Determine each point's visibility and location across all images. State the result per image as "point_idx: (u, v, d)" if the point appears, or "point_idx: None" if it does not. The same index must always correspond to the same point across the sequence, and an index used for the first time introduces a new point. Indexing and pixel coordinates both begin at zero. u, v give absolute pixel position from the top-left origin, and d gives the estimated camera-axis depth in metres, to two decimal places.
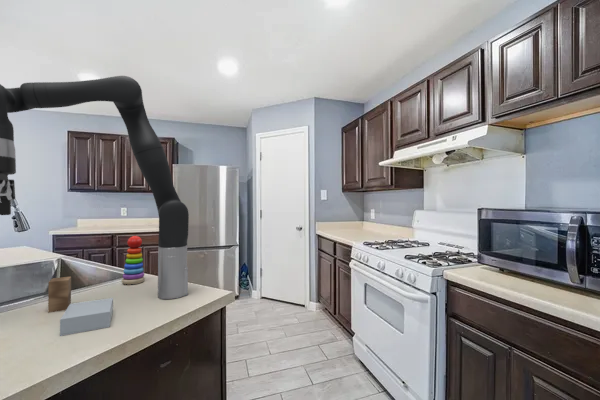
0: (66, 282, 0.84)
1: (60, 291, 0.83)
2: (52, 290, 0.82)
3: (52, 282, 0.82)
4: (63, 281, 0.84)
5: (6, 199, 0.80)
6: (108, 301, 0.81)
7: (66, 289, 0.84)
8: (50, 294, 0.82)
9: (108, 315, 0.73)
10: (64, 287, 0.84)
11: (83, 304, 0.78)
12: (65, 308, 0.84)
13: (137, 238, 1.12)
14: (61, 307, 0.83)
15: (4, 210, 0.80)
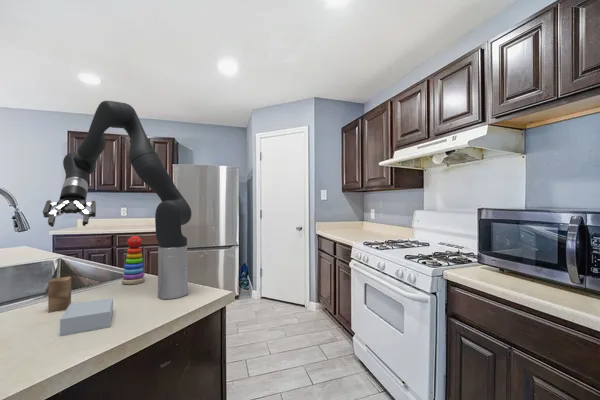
0: (66, 282, 0.84)
1: (60, 291, 0.83)
2: (52, 290, 0.82)
3: (52, 282, 0.82)
4: (63, 281, 0.84)
5: None
6: (108, 301, 0.81)
7: (66, 289, 0.84)
8: (50, 294, 0.82)
9: (108, 315, 0.73)
10: (64, 287, 0.84)
11: (83, 304, 0.78)
12: (65, 308, 0.84)
13: (137, 238, 1.12)
14: (61, 307, 0.83)
15: (83, 221, 0.98)
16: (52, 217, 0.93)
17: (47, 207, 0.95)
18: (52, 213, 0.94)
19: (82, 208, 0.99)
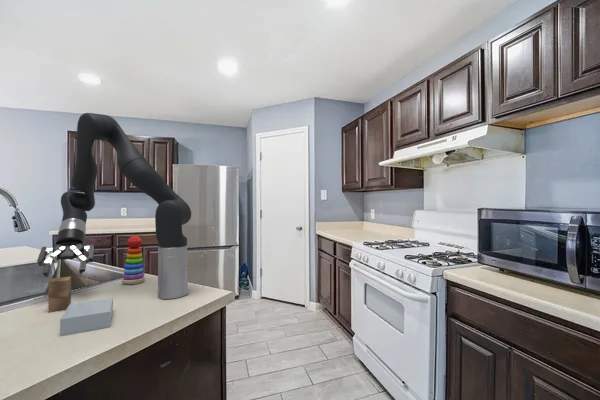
0: (66, 282, 0.84)
1: (60, 291, 0.83)
2: (52, 290, 0.82)
3: (52, 282, 0.82)
4: (63, 281, 0.84)
5: None
6: (108, 301, 0.81)
7: (66, 289, 0.84)
8: (50, 294, 0.82)
9: (108, 315, 0.73)
10: (64, 287, 0.84)
11: (83, 304, 0.78)
12: (65, 308, 0.84)
13: (137, 238, 1.12)
14: (61, 307, 0.83)
15: None
16: (47, 266, 0.88)
17: (42, 255, 0.90)
18: (47, 262, 0.89)
19: (79, 254, 0.94)
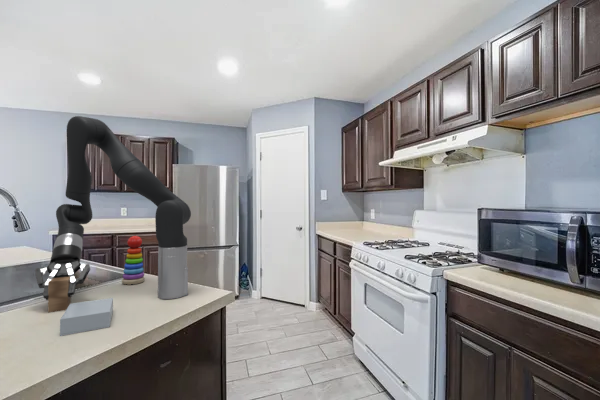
0: (66, 282, 0.84)
1: (60, 291, 0.83)
2: (51, 290, 0.82)
3: (52, 282, 0.82)
4: (63, 281, 0.84)
5: None
6: (108, 301, 0.81)
7: (66, 289, 0.84)
8: (50, 294, 0.82)
9: (108, 315, 0.73)
10: (64, 287, 0.84)
11: (83, 304, 0.78)
12: (65, 308, 0.84)
13: (137, 238, 1.12)
14: (61, 307, 0.83)
15: None
16: None
17: (40, 276, 0.84)
18: None
19: (71, 274, 0.87)
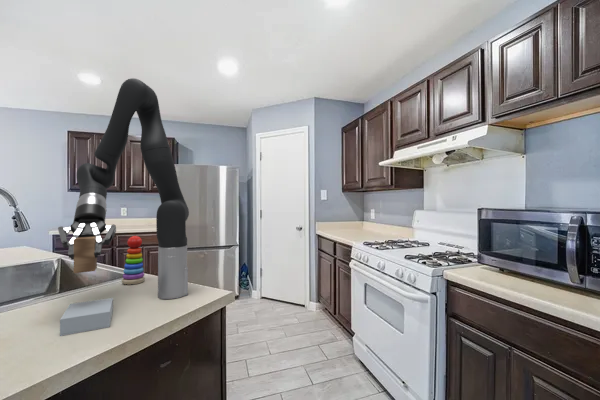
0: (92, 240, 0.76)
1: (86, 250, 0.76)
2: (77, 248, 0.75)
3: (77, 240, 0.75)
4: (89, 239, 0.76)
5: None
6: (108, 301, 0.81)
7: (92, 248, 0.76)
8: (75, 253, 0.74)
9: (108, 315, 0.73)
10: (90, 246, 0.76)
11: (83, 304, 0.78)
12: (92, 269, 0.76)
13: (137, 238, 1.12)
14: (87, 268, 0.76)
15: None
16: (73, 248, 0.75)
17: (63, 235, 0.77)
18: (73, 242, 0.76)
19: (96, 234, 0.80)
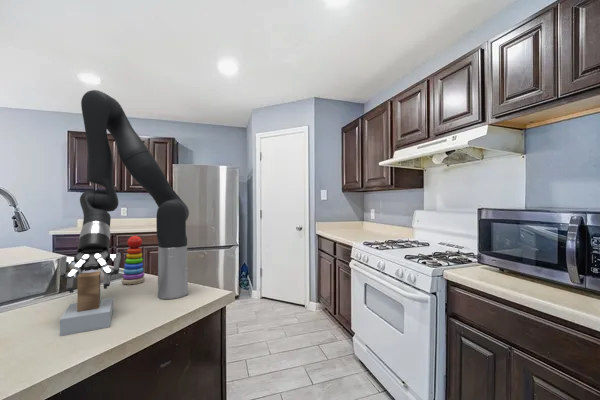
0: (96, 277, 0.75)
1: (91, 288, 0.74)
2: (81, 286, 0.73)
3: (81, 277, 0.73)
4: (93, 276, 0.74)
5: None
6: (108, 301, 0.81)
7: (96, 285, 0.75)
8: (79, 291, 0.73)
9: (108, 315, 0.73)
10: (94, 283, 0.74)
11: None
12: (95, 307, 0.75)
13: (137, 238, 1.12)
14: (91, 306, 0.74)
15: (104, 283, 0.77)
16: (72, 280, 0.73)
17: (64, 266, 0.75)
18: (71, 275, 0.74)
19: (103, 264, 0.79)
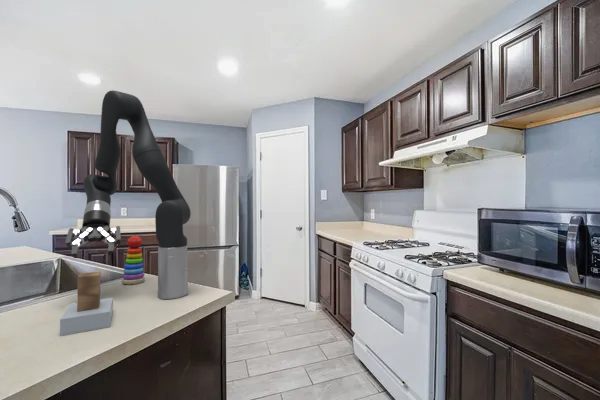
0: (96, 277, 0.75)
1: (91, 288, 0.74)
2: (81, 286, 0.73)
3: (81, 277, 0.73)
4: (93, 276, 0.74)
5: None
6: (108, 301, 0.81)
7: (96, 285, 0.75)
8: (79, 291, 0.73)
9: (108, 315, 0.73)
10: (94, 283, 0.74)
11: None
12: (95, 307, 0.75)
13: (137, 238, 1.12)
14: (91, 306, 0.74)
15: None
16: (76, 247, 0.85)
17: (70, 236, 0.87)
18: (75, 243, 0.86)
19: (107, 235, 0.91)
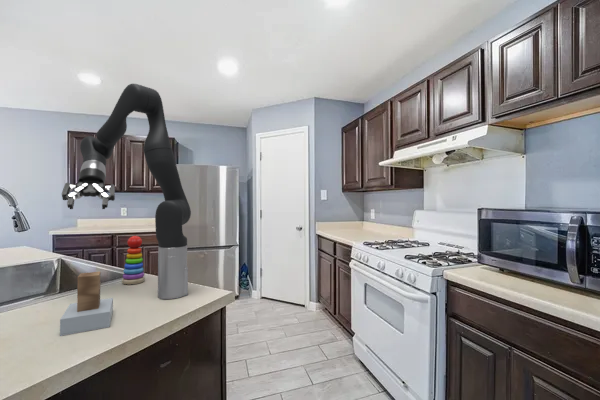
0: (96, 277, 0.75)
1: (91, 288, 0.74)
2: (81, 286, 0.73)
3: (81, 277, 0.73)
4: (93, 276, 0.74)
5: None
6: (108, 301, 0.81)
7: (96, 285, 0.75)
8: (79, 291, 0.73)
9: (108, 315, 0.73)
10: (94, 283, 0.74)
11: None
12: (95, 307, 0.75)
13: (137, 238, 1.12)
14: (91, 306, 0.74)
15: None
16: (71, 199, 0.90)
17: (66, 189, 0.92)
18: (71, 195, 0.91)
19: (101, 191, 0.96)
